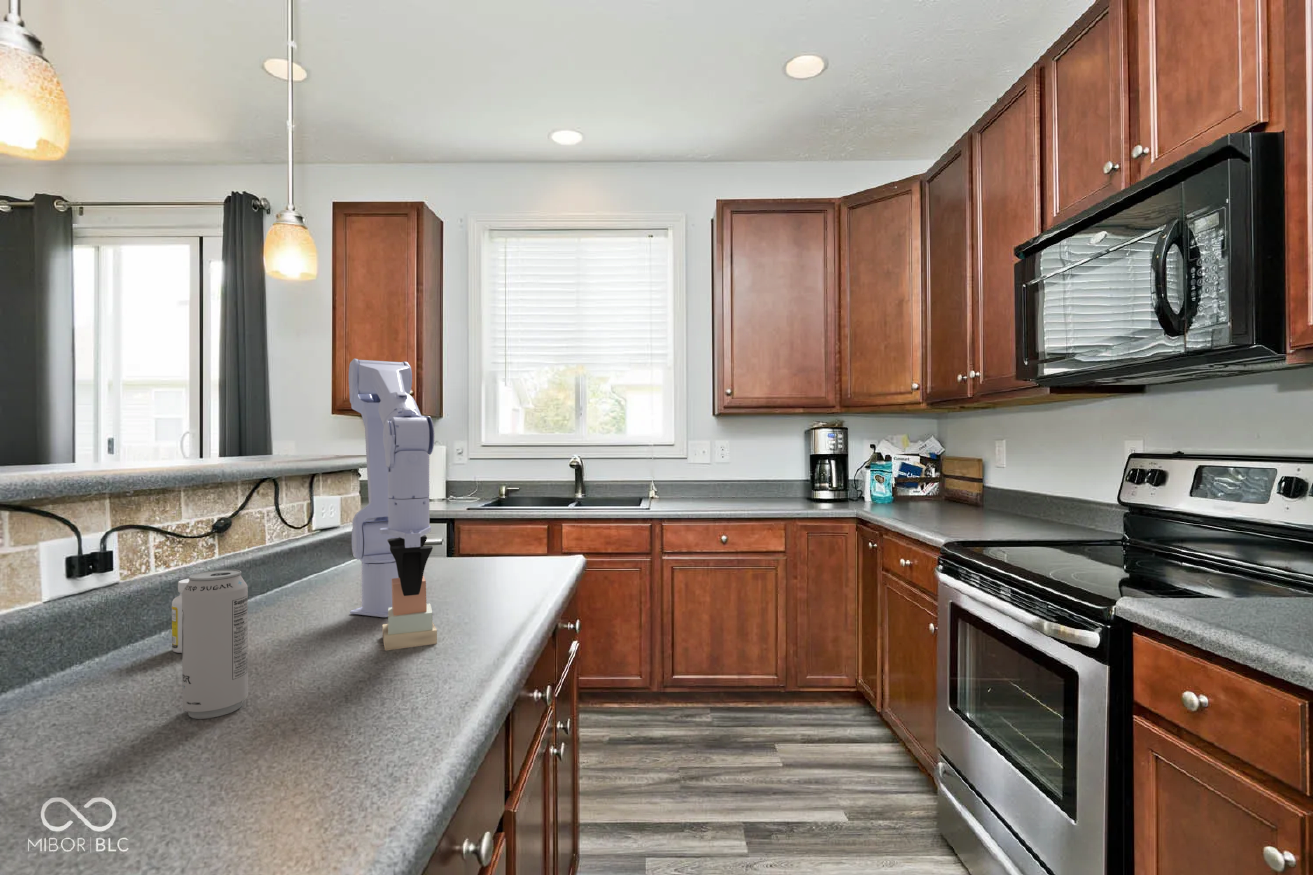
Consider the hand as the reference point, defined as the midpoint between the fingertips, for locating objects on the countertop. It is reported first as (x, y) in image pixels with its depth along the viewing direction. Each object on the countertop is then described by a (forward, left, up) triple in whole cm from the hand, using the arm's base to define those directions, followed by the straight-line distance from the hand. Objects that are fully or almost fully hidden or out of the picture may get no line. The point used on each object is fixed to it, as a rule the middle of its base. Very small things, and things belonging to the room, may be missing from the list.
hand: (409, 589), depth 96 cm
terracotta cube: (0, 0, -3) cm, 3 cm away
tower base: (0, 0, -8) cm, 8 cm away
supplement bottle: (+13, -27, -8) cm, 31 cm away
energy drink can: (+27, -3, -8) cm, 28 cm away
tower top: (0, 0, -6) cm, 6 cm away
